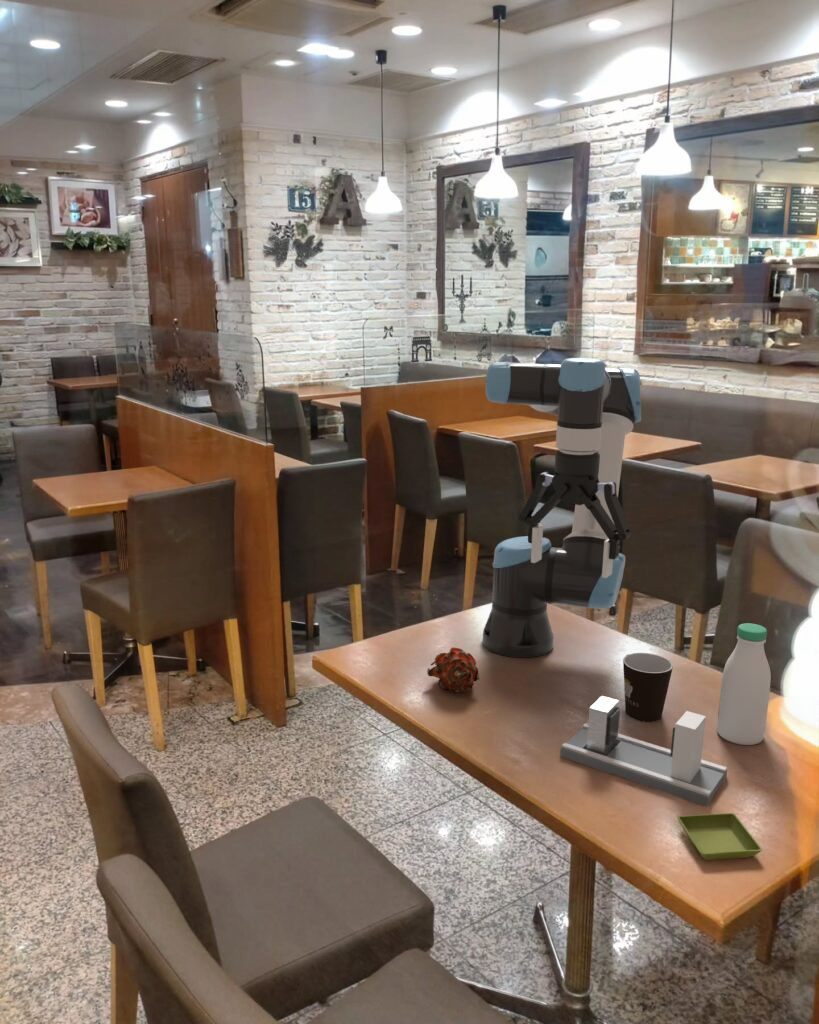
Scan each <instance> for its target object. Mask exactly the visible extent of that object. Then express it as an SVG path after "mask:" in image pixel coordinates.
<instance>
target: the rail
mask: <svg viewBox="0 0 819 1024" xmlns="http://www.w3.org/2000/svg"><path fill="white" fill-rule="evenodd" d="M706 717H707V716H706V715H702V714H699V713H697V712H696V713H695V712H693V711H692V712H691V711H689V710H686V711H685V712H684V713H683V715H681V717H680V718H679V719H678V720H677V722H675V725H674V726H672V733H671V734H672V737H671V747H670V749H669V748H666V747H664V746H663V747H662V746H660V745H656V744H654V743H650V742H647V741H644V740H642V739H641V740H640V739H639V738H638V739H637V738H635V737H631V736H628V735H625V734H621V733H618V736H617V737H616V744H615V748H614V749H613V750H612V751H611V752H610V753H609V754H608V755H607V756H604V755H601V754H598V753H595V752H592V751H589V750H587V736H588V723H585V722H584V724H583V725H582V728H580V730H579V731H577V732H576V733H575V734H574V735H573V736H571V738H570V739H569V740H568V741H566V742H563V743H562V744H561V748H560V754H559V757H561V758H563V759H567V760H570V761H571V762H572V761H573V762H576V763H579V764H581V765H584V766H587V767H590V768H593V769H596V770H598V771H602V772H604V773H608V774H611V775H614V776H617V777H620V778H622V779H625V780H628V781H630V782H634V783H636V784H640V785H642V786H645V787H648V788H651V789H655V790H658V791H661V792H663V793H666V794H669V795H673V796H675V797H678V798H681V799H683V800H687V801H689V802H692V803H695V804H698V805H701V806H704V807H708V805H709V804H710V802H711V801H712V800H713V798H714V796H715V795H716V794H717V792H718V791H719V789H720V787H721V786H722V784H723V783H724V781H725V780H726V779H727V775H728V768H727V766H725V765H724V766H723V765H720V764H717V763H715V762H710V761H707V760H705V759H702V758H703V756H702V755H703V747H704V736H705V728H706V727H705V726H706V721H707V720H706V719H707V718H706Z"/></svg>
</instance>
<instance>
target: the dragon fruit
mask: <svg viewBox="0 0 819 1024" xmlns="http://www.w3.org/2000/svg"><path fill="white" fill-rule="evenodd" d="M432 660H434V661H433V662H432V663H431V664H430V666H433V665H434V664H435V666H433V667H432V668H430V667H429V668H427V669H426V670H427V671H426V672H427V673H426V674H427V676H429V677H435V678H438V683H437V686H439V687H440V688H442V689H443V690H445V689H447V690H448V689H449V690H450V691H451V692H455V693H463V692H464V691H466V692H468V691H470V690H472V689H473V686H474V682H477V681H478V680H480V674H479V668H478V667H477V662H476V659H475V658H474V657H473V655H472V654H471V653H469V652H468V653H467V652H466V651H464V650H463V649H461V648H458V647H454V646H453V647H451V648H450V649H449V652H440V653H439V654H437V655H436V657H435V658H433V659H432ZM432 660H431V661H432Z"/></svg>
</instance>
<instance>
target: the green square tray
mask: <svg viewBox="0 0 819 1024" xmlns="http://www.w3.org/2000/svg"><path fill="white" fill-rule="evenodd" d="M676 818H677V821H678V822H679V824H680V826H681V828H682V829H683V830H684V832H685V833H686V835H687V836H688V839H690V841H691V842H692V843H693V845H694V847H695V848H696V849H697V851H698V853H699V854H700V856H701V857H702V858H703V859H704V860H707V861H708V859H709V860H721V859H722V860H723V859H740V857H741V858H752V857H753V856H756V855H758V854H760V853H761V852H762V851H763V849H762V847H761V845H760V844H759V843H758V842H757V840H756V839H755V838H754V837H753V836H752V834H751V833H750V831H749V830H748V829H747V828H746V826H745V825H744V824H743V823H742V821H741V820H740V819H739V818H738V816H737V814H736V813H733V812H724V813H723V812H722V813H709V814H707V813H706V814H690V815H688V814H687V815H678V816H677V817H676ZM738 857H739V858H738Z"/></svg>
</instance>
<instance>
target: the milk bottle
mask: <svg viewBox="0 0 819 1024" xmlns="http://www.w3.org/2000/svg"><path fill="white" fill-rule="evenodd" d="M736 633H737V636H736V639H737V643H736V645H735V648H734V649H733V651H732V653H731V654H730V655H729V657H728V659H727V660H726V662H725V665H724V668H723V674H722V679H721V686H720V696H719V705H718V713H717V721H716V722H717V723H716V730H717V734H718V735H719V736H720V737H721V738H723V739H724V740H725V741H728V742H730V743H732V744H736V745H741V746H754V745H758V744H760V743H761V742H763V740H764V738H765V733H766V732H765V731H766V724H767V716H768V708H769V700H770V692H771V682H772V681H771V680H772V679H771V677H772V676H771V675H772V673H771V669H770V668H771V667H770V664H769V661H768V658H767V656H766V653H765V645H764V644H766V642H767V635H768V630H767V628H766V627H764V626H762V625H759V624H756V623H751V622H750V623H749V622H747V623H745V622H744V623H741V624H739V625H738V626H737V630H736Z"/></svg>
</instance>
